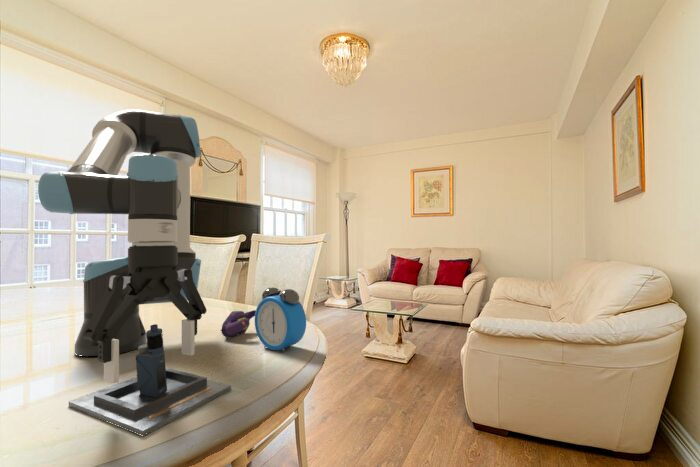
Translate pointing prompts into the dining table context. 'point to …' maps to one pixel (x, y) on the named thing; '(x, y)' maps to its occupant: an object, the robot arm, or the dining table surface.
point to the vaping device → (151, 364)
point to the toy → (236, 323)
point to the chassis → (150, 401)
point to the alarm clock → (280, 319)
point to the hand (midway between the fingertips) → (153, 366)
